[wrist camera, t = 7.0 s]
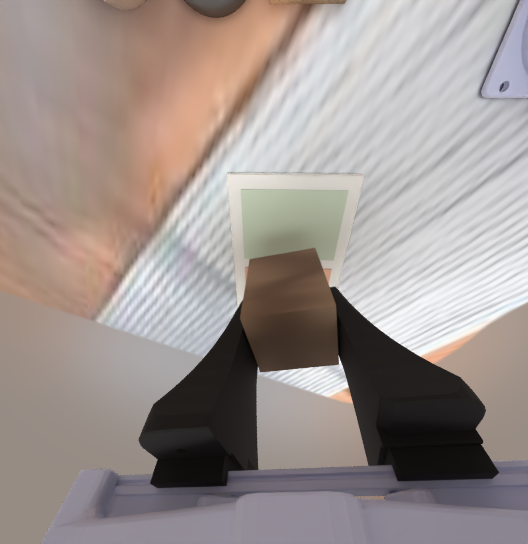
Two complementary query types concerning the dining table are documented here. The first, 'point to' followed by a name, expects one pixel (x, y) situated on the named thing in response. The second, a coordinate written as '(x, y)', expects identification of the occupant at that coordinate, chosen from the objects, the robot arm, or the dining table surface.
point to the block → (289, 312)
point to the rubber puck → (215, 7)
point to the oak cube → (307, 1)
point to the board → (291, 218)
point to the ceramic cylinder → (125, 4)
